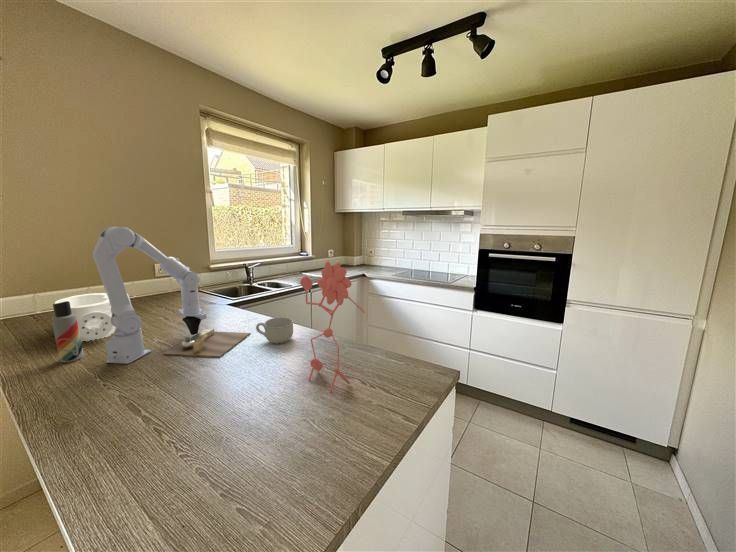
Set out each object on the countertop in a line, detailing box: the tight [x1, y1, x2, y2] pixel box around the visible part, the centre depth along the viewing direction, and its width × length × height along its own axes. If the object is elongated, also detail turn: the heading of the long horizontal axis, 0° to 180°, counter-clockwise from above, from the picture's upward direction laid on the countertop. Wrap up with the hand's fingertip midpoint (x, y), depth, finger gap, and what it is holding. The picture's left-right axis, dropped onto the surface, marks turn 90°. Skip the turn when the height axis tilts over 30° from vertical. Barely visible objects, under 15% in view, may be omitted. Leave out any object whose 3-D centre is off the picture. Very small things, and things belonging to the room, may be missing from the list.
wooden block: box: [181, 327, 215, 349], centre depth 111 cm, size 15×4×3 cm, turn 175°
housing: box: [54, 292, 132, 343], centre depth 124 cm, size 35×22×14 cm, turn 48°
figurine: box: [300, 261, 366, 401], centre depth 85 cm, size 15×26×35 cm, turn 51°
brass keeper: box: [193, 335, 208, 353], centre depth 105 cm, size 2×8×4 cm, turn 7°
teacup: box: [255, 316, 294, 345], centre depth 113 cm, size 14×11×8 cm
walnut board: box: [162, 331, 251, 358], centre depth 111 cm, size 21×21×1 cm
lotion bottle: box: [51, 301, 84, 364], centre depth 97 cm, size 6×6×20 cm
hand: (194, 333), depth 116 cm, fingers closed
